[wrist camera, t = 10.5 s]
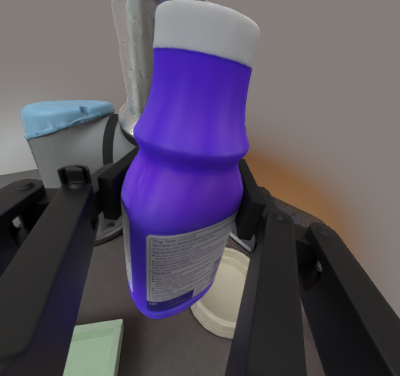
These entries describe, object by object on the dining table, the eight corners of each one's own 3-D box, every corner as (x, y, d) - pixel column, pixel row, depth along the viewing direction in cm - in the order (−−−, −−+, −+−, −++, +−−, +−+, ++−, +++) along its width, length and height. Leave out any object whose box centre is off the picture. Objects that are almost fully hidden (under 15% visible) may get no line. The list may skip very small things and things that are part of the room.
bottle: (191, 244, 19) (227, 49, 10) (224, 290, 15) (324, 42, 7) (122, 273, 15) (86, -2, 6) (143, 344, 11) (123, -94, 3)
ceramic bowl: (182, 261, 31) (184, 249, 30) (242, 256, 34) (247, 245, 33) (193, 347, 21) (197, 336, 20) (277, 330, 24) (287, 319, 23)
